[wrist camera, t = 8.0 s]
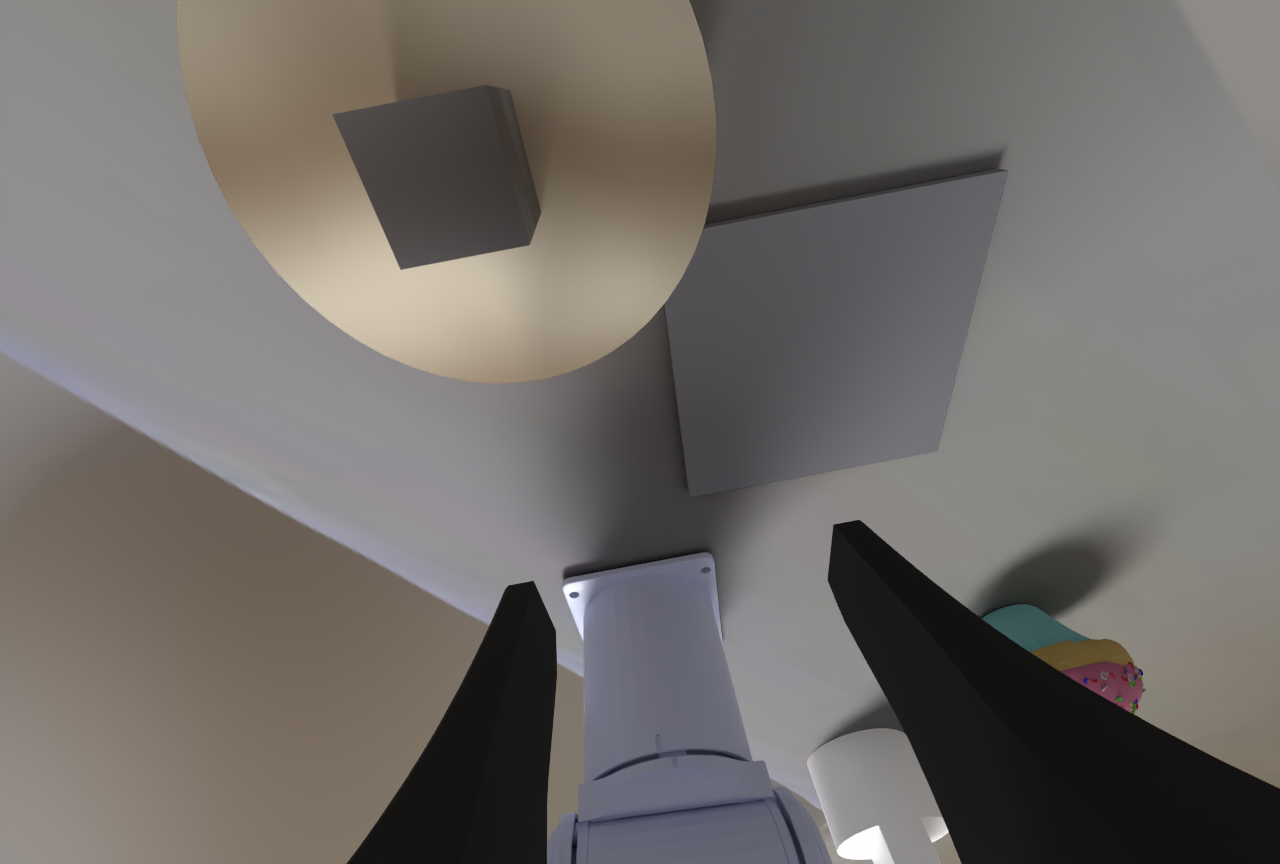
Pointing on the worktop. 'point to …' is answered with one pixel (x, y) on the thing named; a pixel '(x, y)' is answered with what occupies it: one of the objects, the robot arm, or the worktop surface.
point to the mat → (826, 331)
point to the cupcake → (1073, 653)
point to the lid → (462, 166)
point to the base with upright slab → (877, 798)
